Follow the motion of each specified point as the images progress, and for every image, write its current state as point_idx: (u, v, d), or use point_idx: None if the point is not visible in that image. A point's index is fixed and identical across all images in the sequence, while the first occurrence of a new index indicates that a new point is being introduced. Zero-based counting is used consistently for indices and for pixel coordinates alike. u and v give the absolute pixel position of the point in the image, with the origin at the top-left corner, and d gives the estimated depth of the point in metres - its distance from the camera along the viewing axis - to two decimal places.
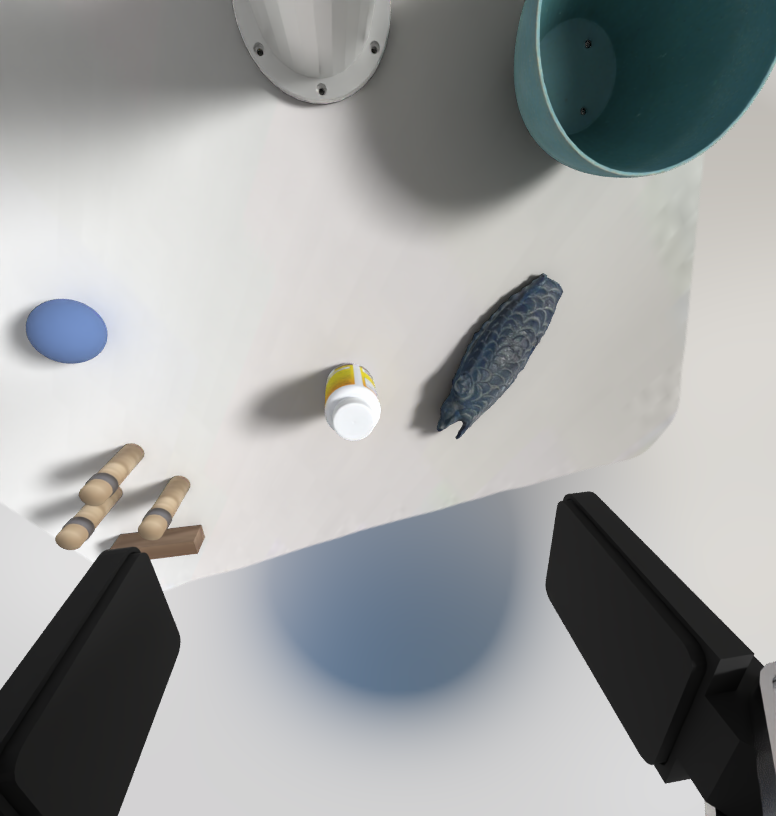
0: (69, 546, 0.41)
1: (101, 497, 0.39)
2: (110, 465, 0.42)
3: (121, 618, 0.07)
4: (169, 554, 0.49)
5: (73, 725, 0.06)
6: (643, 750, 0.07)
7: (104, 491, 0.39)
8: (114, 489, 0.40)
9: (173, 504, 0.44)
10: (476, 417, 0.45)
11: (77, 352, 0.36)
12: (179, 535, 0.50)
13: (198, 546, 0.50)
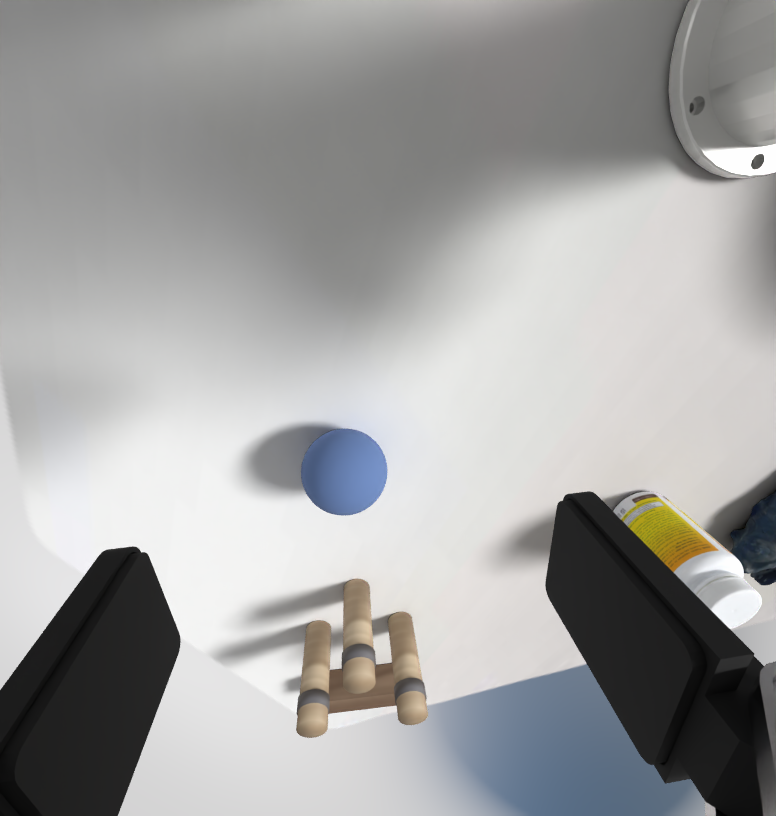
0: (310, 734, 0.31)
1: (369, 684, 0.29)
2: (360, 626, 0.32)
3: (121, 618, 0.07)
4: (382, 704, 0.40)
5: (73, 725, 0.06)
6: (643, 750, 0.07)
7: (374, 678, 0.29)
8: None
9: (418, 665, 0.35)
10: None
11: (367, 506, 0.27)
12: (391, 679, 0.41)
13: None
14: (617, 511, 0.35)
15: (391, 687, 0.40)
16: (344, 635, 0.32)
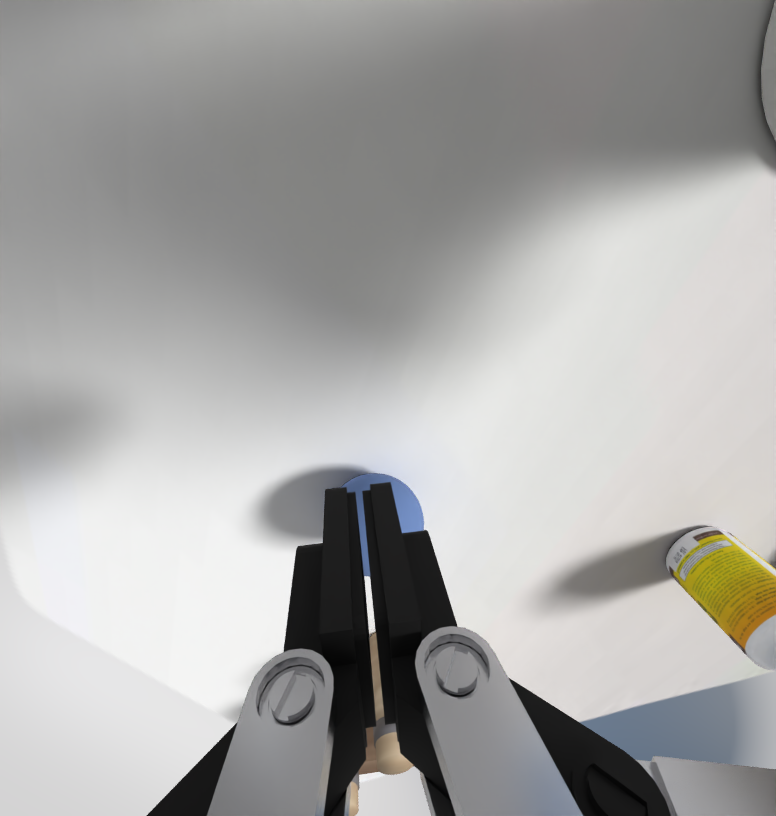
0: None
1: (406, 764, 0.26)
2: None
3: (359, 540, 0.09)
4: None
5: None
6: None
7: None
8: None
9: None
10: None
11: None
12: None
13: None
14: (676, 550, 0.31)
15: None
16: None
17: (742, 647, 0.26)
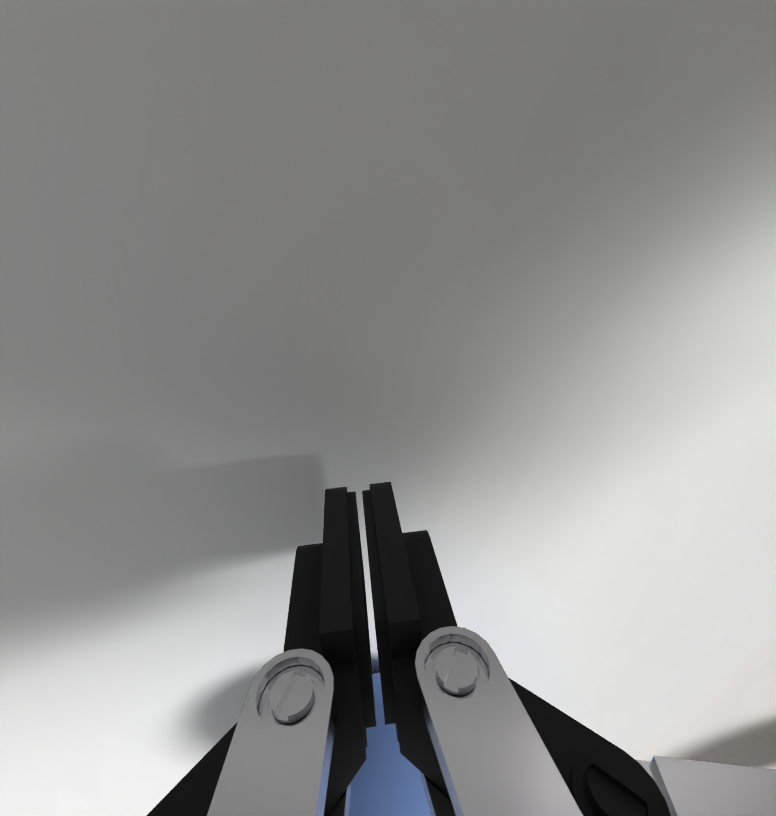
0: None
1: None
2: None
3: (359, 540, 0.09)
4: None
5: None
6: None
7: None
8: None
9: None
10: None
11: None
12: None
13: None
14: None
15: None
16: None
17: None
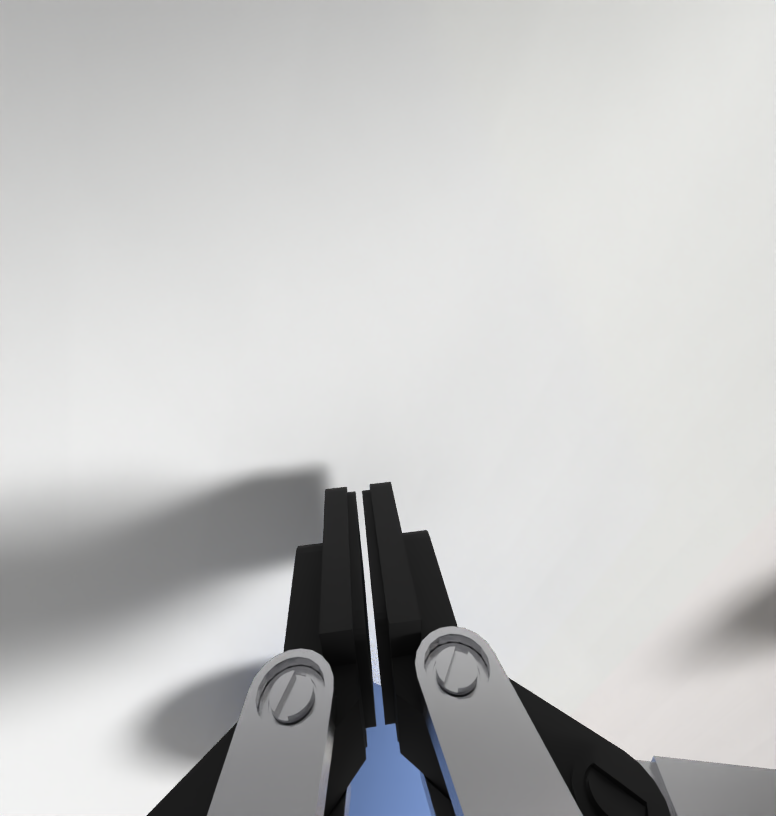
0: None
1: None
2: None
3: (359, 540, 0.09)
4: None
5: None
6: None
7: None
8: None
9: None
10: None
11: None
12: None
13: None
14: None
15: None
16: None
17: None
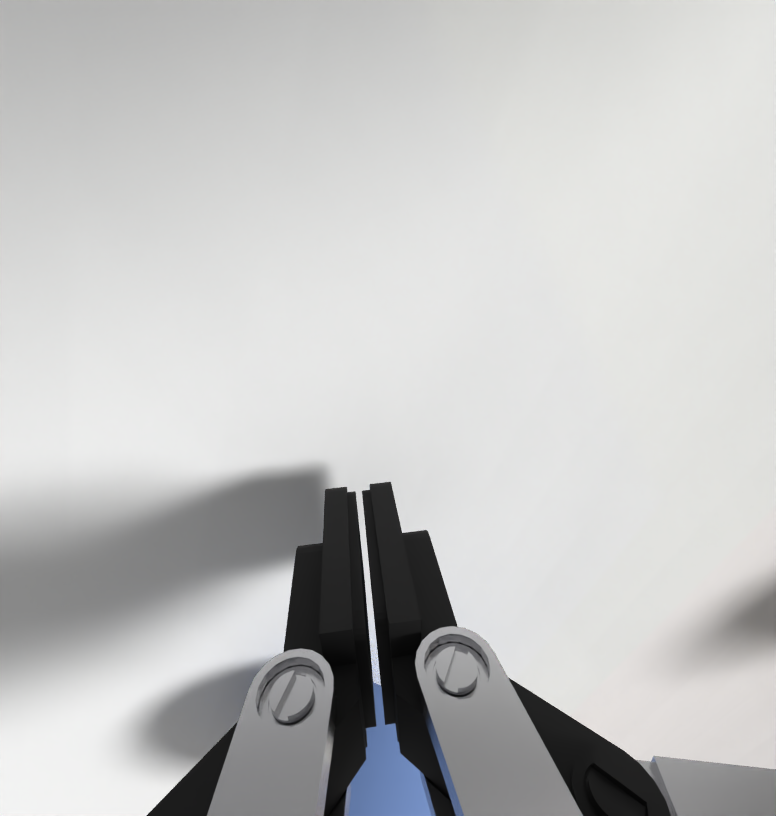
0: None
1: None
2: None
3: (359, 540, 0.09)
4: None
5: None
6: None
7: None
8: None
9: None
10: None
11: None
12: None
13: None
14: None
15: None
16: None
17: None
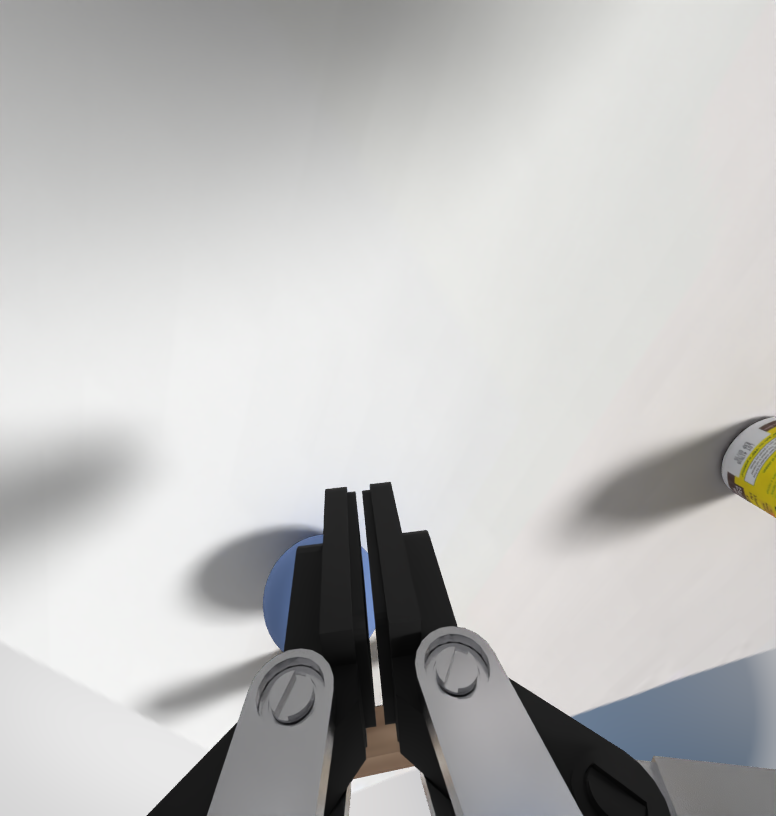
0: None
1: None
2: None
3: (359, 539, 0.09)
4: (399, 765, 0.27)
5: None
6: None
7: None
8: None
9: None
10: None
11: None
12: None
13: None
14: (737, 448, 0.24)
15: None
16: None
17: None
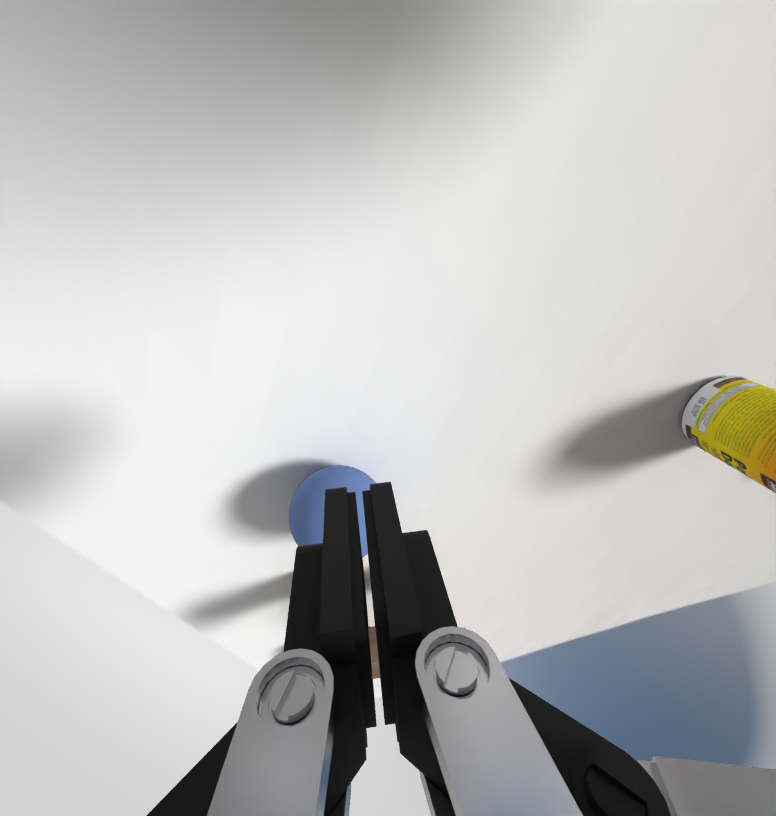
0: None
1: None
2: None
3: (359, 540, 0.09)
4: None
5: None
6: None
7: None
8: None
9: None
10: None
11: (366, 474, 0.25)
12: None
13: None
14: (693, 403, 0.27)
15: None
16: None
17: None
